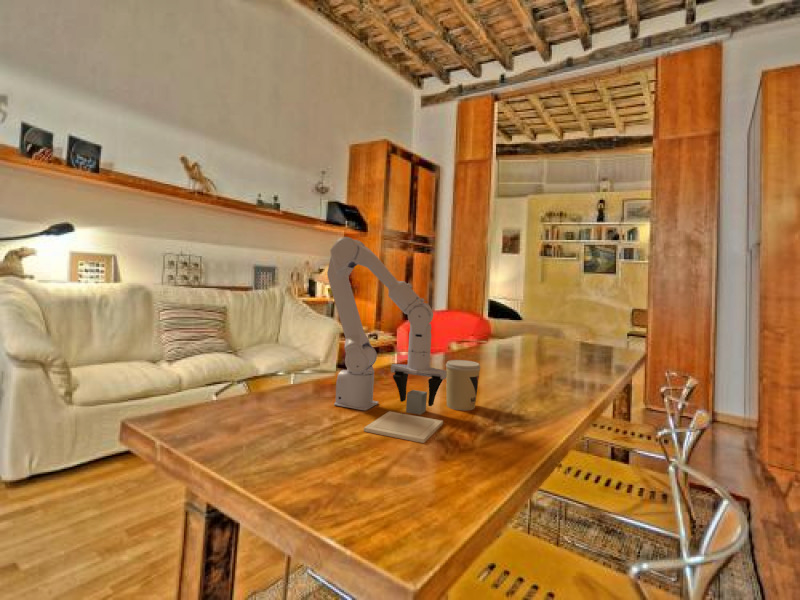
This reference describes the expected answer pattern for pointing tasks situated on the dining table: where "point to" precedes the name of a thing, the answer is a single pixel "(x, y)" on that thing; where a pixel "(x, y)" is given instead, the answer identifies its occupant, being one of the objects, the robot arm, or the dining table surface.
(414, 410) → the block
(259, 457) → the dining table surface
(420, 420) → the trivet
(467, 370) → the coffee cup
